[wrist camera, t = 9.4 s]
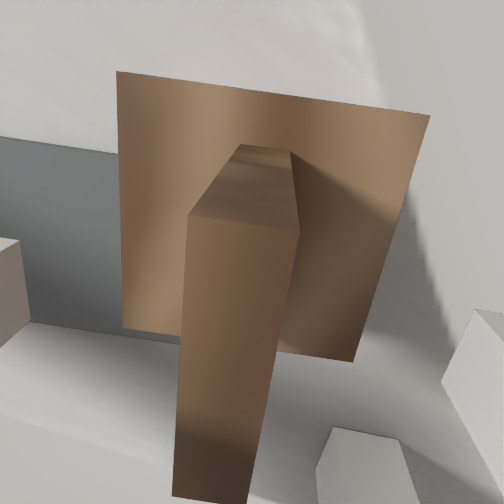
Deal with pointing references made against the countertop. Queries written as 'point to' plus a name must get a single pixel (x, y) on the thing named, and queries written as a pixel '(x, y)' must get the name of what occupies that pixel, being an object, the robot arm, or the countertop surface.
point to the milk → (363, 470)
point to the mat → (67, 234)
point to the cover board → (324, 188)
